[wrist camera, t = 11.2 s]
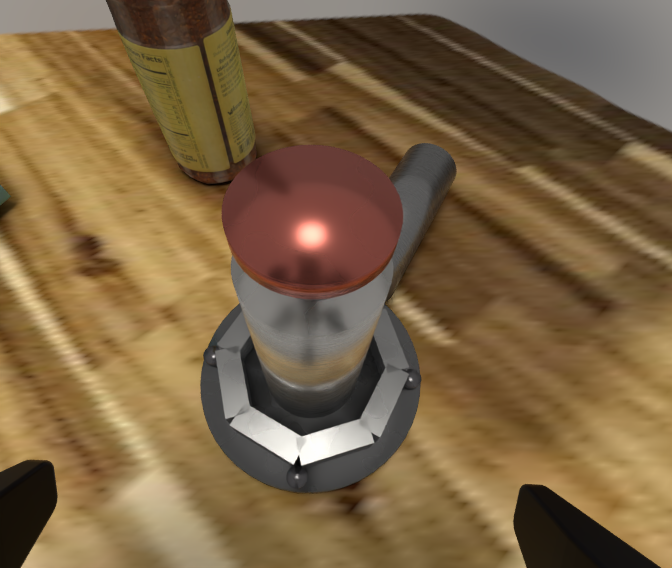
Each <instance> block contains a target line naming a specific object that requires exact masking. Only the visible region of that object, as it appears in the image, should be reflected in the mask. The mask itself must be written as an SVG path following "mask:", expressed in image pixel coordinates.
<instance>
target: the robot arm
mask: <svg viewBox="0 0 672 568" xmlns="http://www.w3.org/2000/svg"><path fill="white" fill-rule="evenodd" d="M57 497H58V496H57V487H56V480H55V472H54V466H53V464H52V463H51V462H50V461H47V460H26V461H23V462H21V463H19V464H17V465H15V466H12V467H10V468H8V469H6V470H4V471H2V472H0V568H21V566H22V564H23V563H24V561H25V559H26V558H27V556H28V554H29V552H30V551H31V549H32V547H33V546H34V544H35V542H36V541H37V539H38V537H39V535H40V534H41V532H42V530H43V529H44V527H45V525H46V523H47V522H48V520H49V518H50V517H51V515H52V513H53V511H54V509H55V507H56V504H57ZM513 524H514V530H515V534H516V537H517V540H518V543H519V546H520V549H521V552H522V555H523V558H524V561H525V564H526V567H527V568H661V567H659V566H658V565H657V564H655V563H654V562H652V561H651V560H649V559H648V558H647V557H645V556H644V555H642V554H641V553H640V552H638V551H637V550H635V549H634V548H632V547H631V546H630V545H628V544H627V543H625V542H624V541H623V540H621V539H620V538H618V537H617V536H615V535H614V534H613V533H611V532H610V531H608V530H607V529H606V528H604V527H603V526H601V525H600V524H598V523H597V522H596V521H594V520H593V519H591V518H590V517H589V516H587V515H586V514H584V513H583V512H582V511H580V510H579V509H577V508H576V507H574V506H573V505H572V504H570V503H569V502H567V501H566V500H565V499H563V498H562V497H560V496H559V495H557V494H556V493H555V492H553V491H552V490H550V489H549V488H547V487H546V486H544V485H533V484H525V485H522V486H521V488H520V490H519V495H518V499H517V504H516V509H515V514H514V519H513Z"/></svg>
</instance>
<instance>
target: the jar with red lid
mask: <svg viewBox="0 0 672 568" xmlns="http://www.w3.org/2000/svg"><path fill="white" fill-rule="evenodd" d="M222 222H223V228H224V231H225V235H226V238H227V241H228V244H229V247H230V250H231V253H232V261H231V275H232V280H233V284H234V287H235V290H236V293H237V296H238V299H239V302H240V305H241V308H242V311H243V314H244V317H245V320H246V323H247V326H248V329H249V332H250V335H251V338H252V341H253V344H254V347H255V350H256V353H257V356H258V359H259V362H260V365H261V368H262V371H263V374H264V377H265V380H266V383H267V386H268V388H269V391H270V393H271V395H272V397H273V399H274V400H275V401H276V403H277V404H278V405H279V406H280V407H281V408H283V409H284V410H285V411H287V412H289V413H290V414H293V415H295V416H298V417H302V418H320V417H324V416H327V415H330V414H332V413H334V412H335V411H337V410H339V409H340V408H341V407H342V406H343V405H344V404H345V403H346V402H347V401H348V400H349V398H350V397H351V395H352V393H353V391H354V388H355V386H356V383H357V380H358V377H359V374H360V371H361V369H362V366H363V363H364V360H365V357H366V354H367V352H368V349H369V346H370V343H371V340H372V337H373V335H374V332H375V329H376V326H377V323H378V320H379V317H380V315H381V312H382V309H383V306H384V303H385V300H386V298H387V295H388V292H389V289H390V286H391V283H392V278H393V259H392V257H393V254H394V251H395V249H396V246H397V243H398V240H399V237H400V234H401V230H402V225H403V208H402V203H401V199H400V196H399V194H398V192H397V190H396V188H395V186H394V185H393V183H392V182H391V180H390V179H389V178H388V177H387V176H386V174H385V173H384V172H383V171H381V170H380V169H379V168H378V167H377V166H376V165H374V164H373V163H371V162H370V161H368V160H366V159H365V158H363V157H361V156H359V155H357V154H354V153H352V152H349V151H346V150H343V149H339V148H335V147H330V146H322V145H299V146H292V147H287V148H283V149H279V150H276V151H273V152H270V153H267V154H265V155H263V156H261V157H259V158H257V159H256V160H254V161H253V162H251V163H250V164H248V165H247V166H246V167H245V168H243V169H242V170H241V171H240V172H239V173H238V174H237V175H236V177H235V178H234V179H233V181H232V182H231V184H230V185H229V187H228V189H227V191H226V194H225V197H224V200H223V205H222Z"/></svg>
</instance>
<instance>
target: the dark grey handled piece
mask: <svg viewBox="0 0 672 568" xmlns="http://www.w3.org/2000/svg"><path fill="white" fill-rule="evenodd" d="M455 177H456V165H455V162H454V160H453V158H452V157H451V156H450V154H449V153H448V152H447V151H445V150H444V149H442V148H441V147H439V146H437V145H433V144H428V143H422V144H417V145H414V146H412V147H411V148H410V149H409V150H408V151H407V152H406V153H405V155H404V156H403V158H402V159H401V161H400V162H399V164H398V165H397V167H396V168H395V170H394V171H393V173H392V174H391V176H390V178H389V179H390V180H391V182H392V183H393V185H394V186H395V188H396V190H397V192H398V194H399V196H400V199H401V203H402V208H403V225H402V230H401V234H400V237H399V240H398V243H397V246H396V249H395V251H394V254H393V257H392V259H393V278H392V283H391V286H390V289H389V292H388V295H387V298H386V300H385V301H387V300H389V299H390V298H391V296H392V294H393V293H394V291H395V289H396V287H397V285H398V283H399V281H400V280H401V278H402V276H403V274H404V272H405V270H406V268H407V267H408V265H409V263H410V261H411V259H412V257H413V255H414V254H415V252H416V250H417V248H418V246H419V244H420V242H421V241H422V239H423V237H424V235H425V233H426V231H427V229H428V228H429V226H430V224H431V222H432V220H433V218H434V216H435V215H436V213H437V211H438V209H439V207H440V205H441V203H442V202H443V200H444V198H445V196H446V194H447V192H448V190H449V189H450V187H451V185H452V183H453V181H454V179H455ZM203 356H204V362H203V367H202V373H201V400H202V405H203V410H204V415H205V418H206V420H207V423H208V426H209V429H210V431H211V433H212V434H213V436H214V438H215V440H216V442H217V443H218V445H219V446H220V447H221V449H222V450H223V452H224V453H225V454H226V455H227V456H228V457H229V458H230V459H231V460H232V461H233V462H234V463H235V464H236V465H237V466H238V467H239V468H241V469H242V470H243V471H245V472H246V473H247V474H249V475H250V476H252V477H253V478H255V479H257V480H259V481H261V482H263V483H265V484H267V485H270V486H272V487H275V488H278V489H281V490H286V491H291V492H298V493H318V492H328V491H332V490H336V489H340V488H344V487H346V486H348V485H351V484H353V483H356V482H358V481H360V480H361V479H363V478H365V477H366V476H368V475H370V474H371V473H373V472H374V471H375V470H377V469H378V468H379V467H380V466H381V465H383V464H384V463H385V462H386V461H387V460H388V459H389V458H390V457H391V456H392V455H393V454H394V453H395V452H396V450H397V449H398V448H399V446H400V445H401V443H402V442H403V440H404V439H405V437H406V435H407V433H408V431H409V429H410V427H411V425H412V423H413V420H414V417H415V414H416V411H417V407H418V402H419V397H420V382H421V375H420V370H419V364H418V359H417V355H416V352H415V349H414V346H413V343H412V341H411V339H410V337H409V335H408V333H407V331H406V329H405V328H404V326H403V325H402V323H401V322H400V320H399V319H398V318H397V316H396V315H395V314H394V313H393V312H392V311H391V310H390V309H389V308H388V307H387V306H386V305H385V304H384V306H383V309H382V312H381V315H380V317H379V320H378V323H377V326H376V329H375V332H374V335H373V337H372V340H371V343H370V346H369V349H368V352H367V354H366V357H365V360H364V363H363V366H362V369H361V371H360V374H359V377H358V380H357V383H356V386H355V388H354V391H353V393H352V395H351V397H350V398H349V400H348V401H347V402H346V403H345V404H344V405H343V406H342V407H341V408H340V409H339V410H337V411H335V412H334V413H332V414H330V415H327V416H324V417H320V418H302V417H298V416H295V415H293V414H290V413H289V412H287V411H285V410H284V409H283V408H281V407H280V406H279V405H278V404H277V403H276V401H275V400H274V399H273V397H272V395H271V393H270V391H269V388H268V386H267V383H266V380H265V377H264V374H263V371H262V368H261V365H260V362H259V359H258V356H257V353H256V350H255V347H254V344H253V341H252V338H251V335H250V332H249V329H248V326H247V323H246V320H245V317H244V314H243V311H242V308H241V305H240V303H239V304H238V305H237V306H236V307H235V308H234V309H233V310H232V311H231V312H230V313H229V314H228V315H227V317H226V318H225V319H224V320H223V321H222V323H221V324H220V326H219V327H218V329H217V330H216V332H215V334H214V336H213V338H212V340H211V341H210V343H209V346H208V348H207V349H206V350H205V352H204V355H203Z"/></svg>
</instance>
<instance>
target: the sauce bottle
mask: <svg viewBox="0 0 672 568" xmlns="http://www.w3.org/2000/svg"><path fill="white" fill-rule="evenodd" d="M106 2H107V4H108V7H109V9H110V12H111V14H112V17H113V20H114V22H115V25H116V27H117V30H118V33H119V35H120V37H121V40H122V42H123V44H124V47H125V49H126V52H127V54H128V56H129V59H130V61H131V63H132V66H133V68H134V70H135V72H136V75H137V77H138V79H139V81H140V84H141V86H142V88H143V90H144V93H145V95H146V97H147V99H148V102H149V104H150V106H151V108H152V110H153V113H154V115H155V117H156V119H157V121H158V123H159V126H160V128H161V130H162V132H163V135H164V137H165V139H166V142H167V144H168V146H169V148H170V151H171V153H172V155H173V157H174V158H175V159H176V161H177V162H178V165H179V167H180V168H181V169H182V170H183V171H184V172H185V173H186V174H187V175H189V176H190V177H191V178H193V179H196V180H197V181H200V182H203V183H206V184H216V183H222V182H227V181H232V180H233V179H234V178H235V177H236V175H237V174H238V173H239V172H240V171H241V170H242V169H243V168H245V167H246V166H247V165H248V164H250V163H251V162H253V161H254V160H255V159H256V155H257V153H256V146H255V131H254V126H253V120H252V115H251V110H250V105H249V100H248V95H247V90H246V85H245V80H244V75H243V70H242V65H241V60H240V55H239V49H238V44H237V39H236V34H235V28H234V23H233V18H232V13H231V8H230V5H229V3H228V1H227V0H106Z"/></svg>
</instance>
